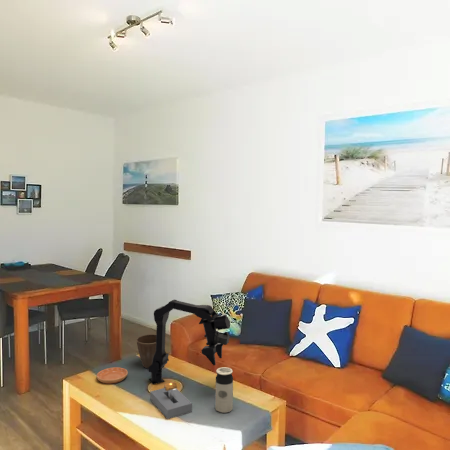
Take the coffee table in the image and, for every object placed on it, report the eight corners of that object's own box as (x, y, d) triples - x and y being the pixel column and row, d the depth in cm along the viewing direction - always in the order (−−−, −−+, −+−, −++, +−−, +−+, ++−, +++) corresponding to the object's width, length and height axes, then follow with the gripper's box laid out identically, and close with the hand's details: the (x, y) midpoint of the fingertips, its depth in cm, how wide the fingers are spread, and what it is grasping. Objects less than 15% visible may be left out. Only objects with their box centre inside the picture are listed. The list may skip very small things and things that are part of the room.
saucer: (90, 382, 208) (90, 377, 208) (108, 370, 223) (108, 365, 223) (116, 387, 203) (116, 381, 203) (133, 374, 218) (133, 369, 218)
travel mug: (220, 402, 188) (220, 365, 187) (235, 406, 185) (235, 368, 184) (212, 410, 181) (212, 372, 180) (228, 414, 178) (228, 375, 177)
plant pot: (151, 373, 219) (151, 345, 218) (130, 367, 226) (130, 340, 225) (168, 364, 232) (168, 337, 231) (148, 358, 239) (148, 332, 238)
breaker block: (150, 399, 191) (150, 391, 190) (173, 393, 197) (173, 385, 197) (167, 419, 174) (167, 409, 173) (191, 411, 180) (191, 402, 180)
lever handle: (164, 402, 185) (164, 382, 185) (173, 400, 188) (174, 380, 187) (167, 405, 183) (167, 385, 182) (176, 403, 185) (176, 382, 184)
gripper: (219, 334, 187) (226, 367, 187) (231, 323, 205) (238, 353, 204) (197, 337, 191) (205, 369, 190) (211, 326, 208) (218, 355, 208)
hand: (217, 361), depth 198 cm, fingers open, 9 cm apart
